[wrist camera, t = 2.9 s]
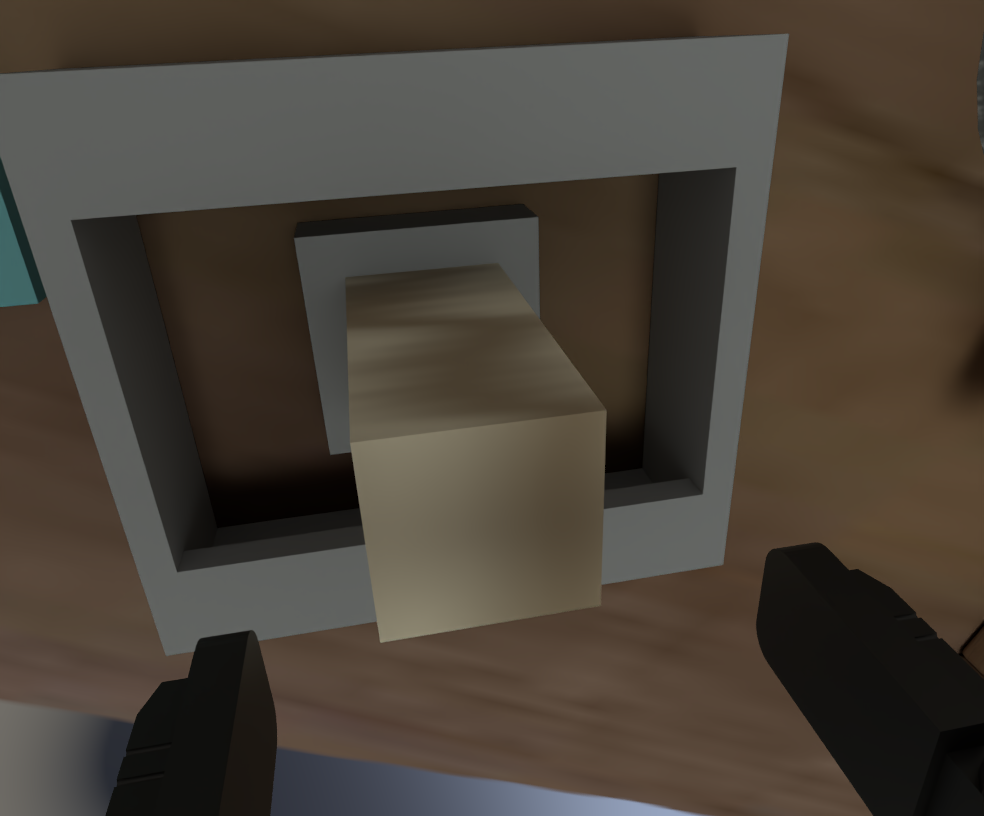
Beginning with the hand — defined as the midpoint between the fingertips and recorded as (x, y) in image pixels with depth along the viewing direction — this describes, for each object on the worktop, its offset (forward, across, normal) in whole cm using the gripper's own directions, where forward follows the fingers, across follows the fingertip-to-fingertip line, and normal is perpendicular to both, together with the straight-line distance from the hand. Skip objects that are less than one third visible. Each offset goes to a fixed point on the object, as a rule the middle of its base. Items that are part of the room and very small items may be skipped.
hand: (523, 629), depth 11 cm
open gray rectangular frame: (+15, 0, 0) cm, 15 cm away
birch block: (+13, 0, 0) cm, 13 cm away
